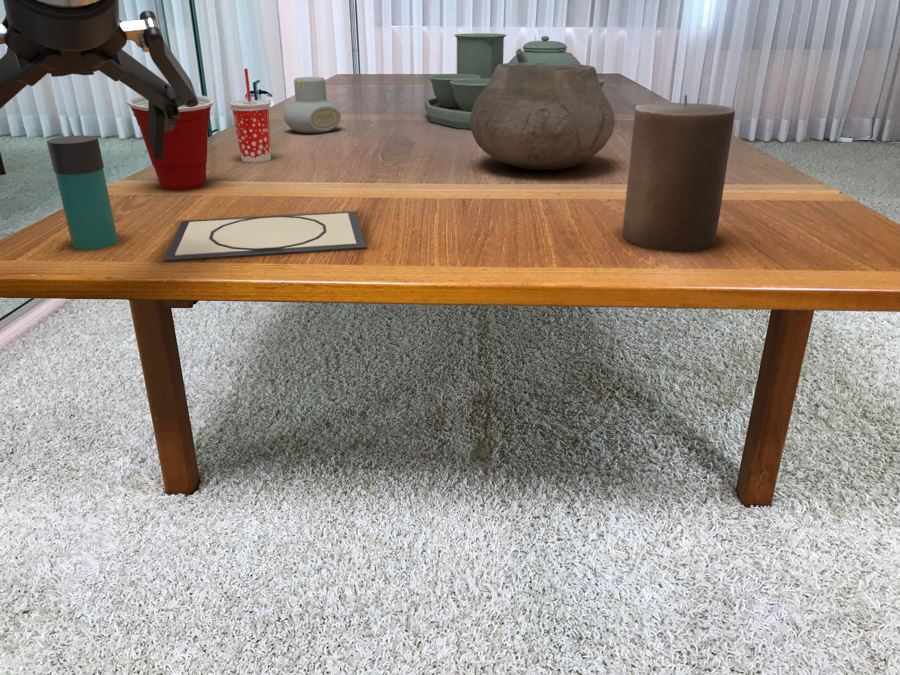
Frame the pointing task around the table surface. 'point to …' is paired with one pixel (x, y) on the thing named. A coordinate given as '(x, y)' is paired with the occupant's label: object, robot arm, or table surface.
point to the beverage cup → (252, 127)
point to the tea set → (483, 73)
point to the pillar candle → (677, 175)
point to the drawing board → (265, 236)
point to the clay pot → (542, 115)
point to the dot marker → (83, 191)
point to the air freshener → (311, 108)
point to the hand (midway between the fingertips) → (80, 154)
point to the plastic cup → (179, 144)
